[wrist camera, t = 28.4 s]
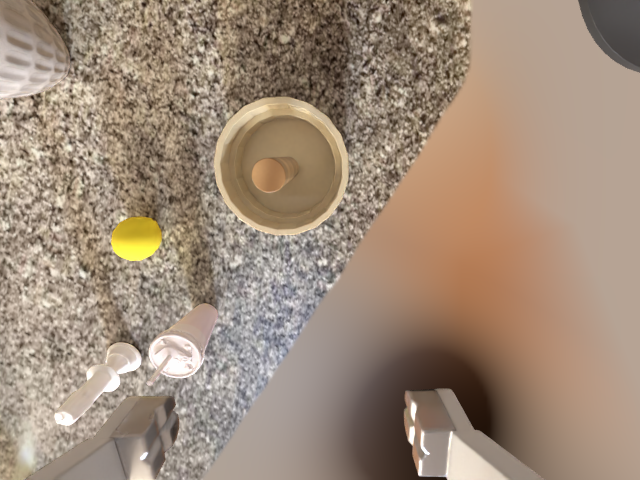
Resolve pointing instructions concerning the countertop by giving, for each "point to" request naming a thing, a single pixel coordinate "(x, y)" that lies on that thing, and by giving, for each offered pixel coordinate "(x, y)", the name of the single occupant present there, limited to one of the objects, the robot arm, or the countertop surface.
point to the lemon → (136, 238)
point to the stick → (274, 173)
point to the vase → (29, 50)
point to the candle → (99, 381)
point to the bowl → (282, 141)
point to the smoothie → (183, 344)
